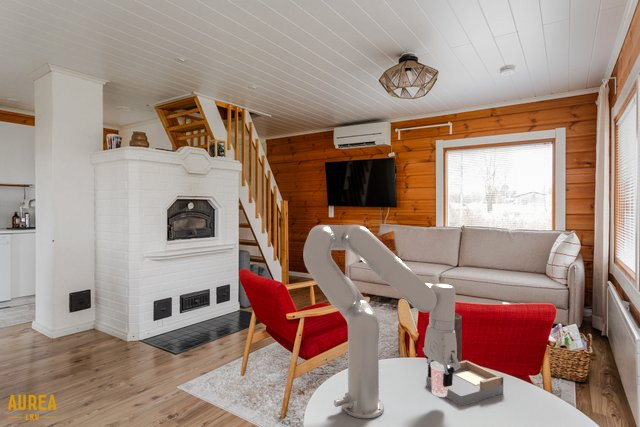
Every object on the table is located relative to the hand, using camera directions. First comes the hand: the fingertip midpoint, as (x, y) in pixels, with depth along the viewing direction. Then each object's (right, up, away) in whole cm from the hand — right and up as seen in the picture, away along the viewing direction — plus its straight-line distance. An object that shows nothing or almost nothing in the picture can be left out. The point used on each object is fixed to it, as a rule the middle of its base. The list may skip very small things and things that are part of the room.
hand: (439, 380), depth 118 cm
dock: (+12, -8, +12) cm, 19 cm away
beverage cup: (0, -4, 0) cm, 4 cm away
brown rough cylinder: (+15, -8, +33) cm, 38 cm away
